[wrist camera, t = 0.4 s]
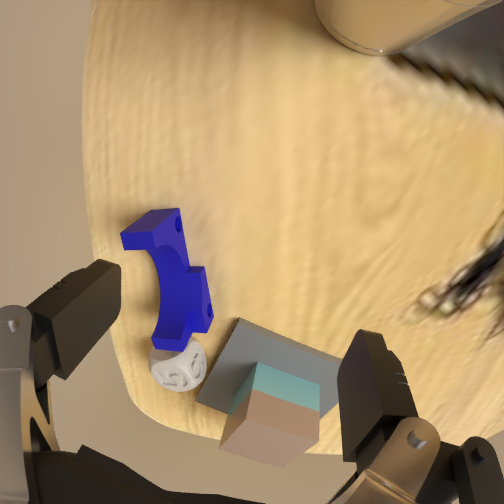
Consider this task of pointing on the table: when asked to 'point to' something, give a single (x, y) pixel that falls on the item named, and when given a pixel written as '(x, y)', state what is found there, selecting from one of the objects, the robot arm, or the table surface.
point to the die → (179, 367)
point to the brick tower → (270, 394)
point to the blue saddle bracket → (172, 278)
